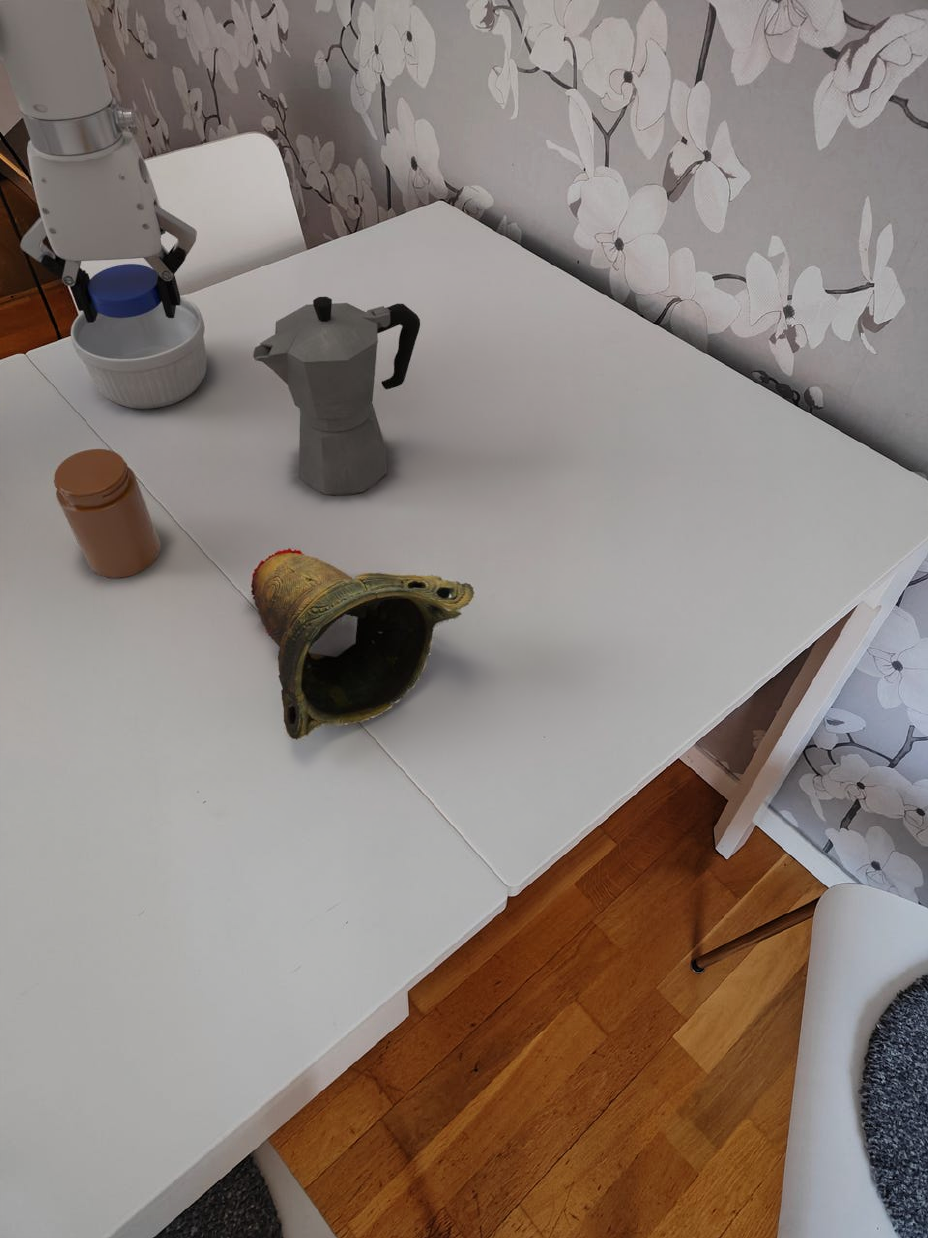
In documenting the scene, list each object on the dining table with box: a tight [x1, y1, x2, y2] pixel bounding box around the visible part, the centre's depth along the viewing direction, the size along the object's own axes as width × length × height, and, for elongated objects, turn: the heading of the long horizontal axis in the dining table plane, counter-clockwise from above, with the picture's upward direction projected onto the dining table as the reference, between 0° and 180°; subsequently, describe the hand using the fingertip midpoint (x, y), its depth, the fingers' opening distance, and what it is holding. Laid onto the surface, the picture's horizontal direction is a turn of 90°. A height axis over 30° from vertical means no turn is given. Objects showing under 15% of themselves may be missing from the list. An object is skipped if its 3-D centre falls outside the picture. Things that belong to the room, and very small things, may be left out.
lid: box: [87, 263, 161, 318], centre depth 86 cm, size 7×7×2 cm
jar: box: [53, 448, 161, 579], centre depth 75 cm, size 6×6×10 cm
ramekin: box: [70, 295, 207, 410], centre depth 92 cm, size 13×13×7 cm
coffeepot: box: [252, 296, 421, 496], centre depth 79 cm, size 15×9×18 cm, turn 118°
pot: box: [250, 547, 475, 741], centre depth 68 cm, size 17×11×18 cm
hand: (132, 311), depth 88 cm, fingers open, 7 cm apart
